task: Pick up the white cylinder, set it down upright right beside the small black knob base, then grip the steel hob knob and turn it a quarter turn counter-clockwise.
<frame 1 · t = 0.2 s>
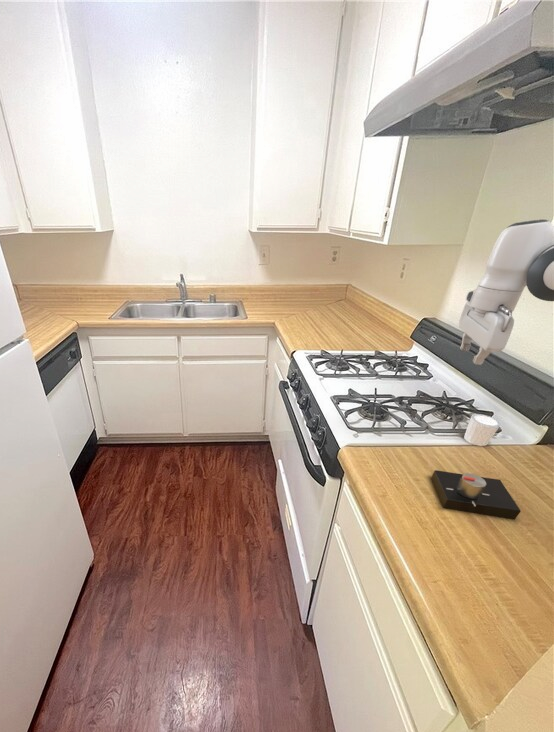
hand: (470, 356, 89), 23 cm above the countertop, tool pointing down, fingers open, 8 cm apart
hob knob: (471, 485, 74), point 5 cm above the countertop, hinge at 0.0°
black knob base: (469, 499, 78), on the countertop
white cylinder: (474, 441, 97), on the countertop
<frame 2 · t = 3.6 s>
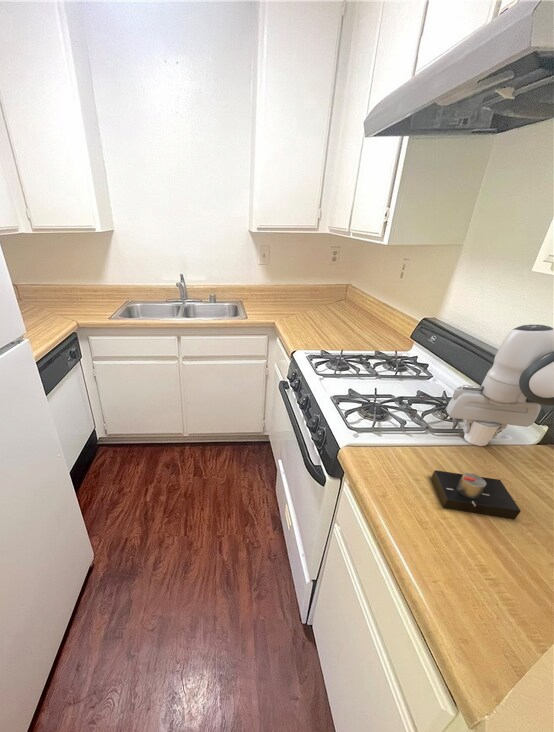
hand: (478, 433, 96), 3 cm above the countertop, tool pointing down, fingers closed on white cylinder, 5 cm apart
white cylinder: (474, 441, 97), on the countertop, touching gripper
everything else where it was.
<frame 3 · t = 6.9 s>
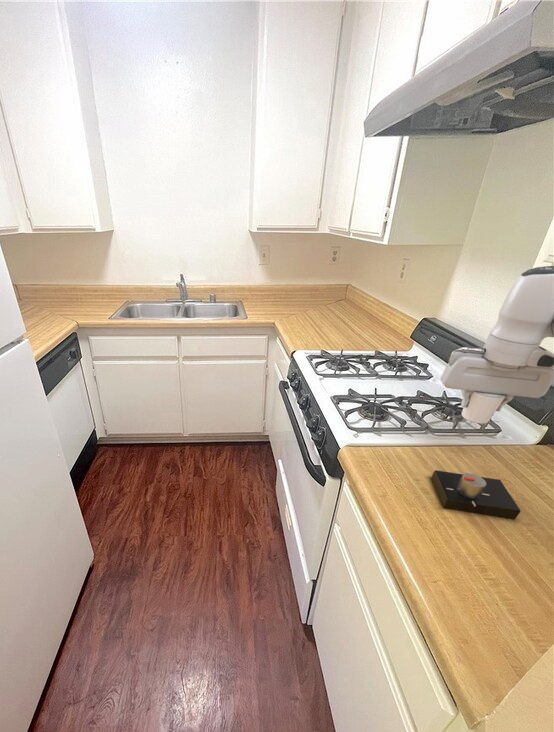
hand: (479, 408, 80), 16 cm above the countertop, tool pointing down, fingers closed on white cylinder, 5 cm apart
white cylinder: (474, 418, 82), point 13 cm above the countertop, touching gripper
everything else where it was.
when the fingers open (2 cm above the countertop, at t = 10.2 s): white cylinder stays where it is, on the countertop.
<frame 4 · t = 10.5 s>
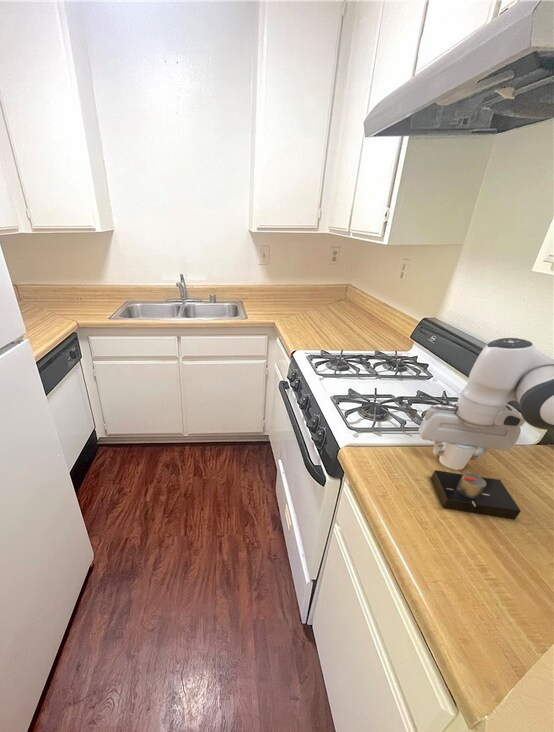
hand: (454, 456, 87), 2 cm above the countertop, tool pointing down, fingers open, 7 cm apart
white cylinder: (450, 464, 88), on the countertop
everything else where it was.
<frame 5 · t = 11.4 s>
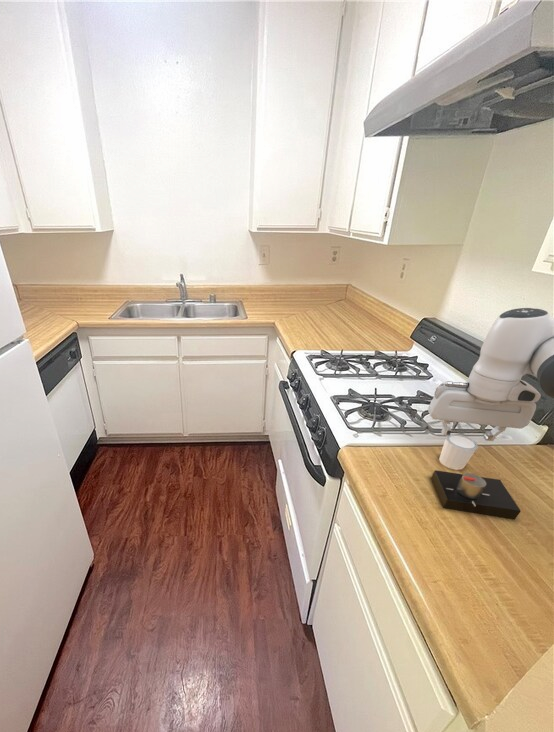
hand: (466, 437, 84), 8 cm above the countertop, tool pointing down, fingers open, 8 cm apart
nothing on the countertop moved.
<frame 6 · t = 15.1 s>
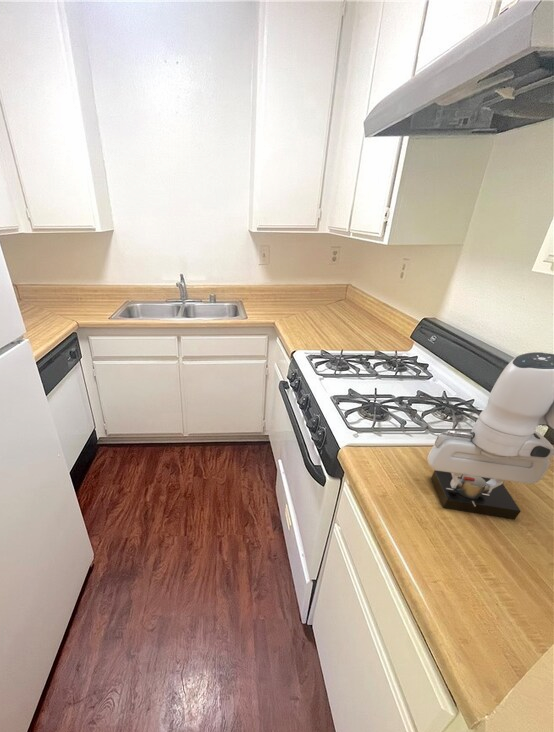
hand: (469, 489, 74), 4 cm above the countertop, tool pointing down, fingers closed on hob knob, 4 cm apart
hob knob: (471, 485, 74), point 5 cm above the countertop, hinge at 0.0°, touching gripper
everything else where it was.
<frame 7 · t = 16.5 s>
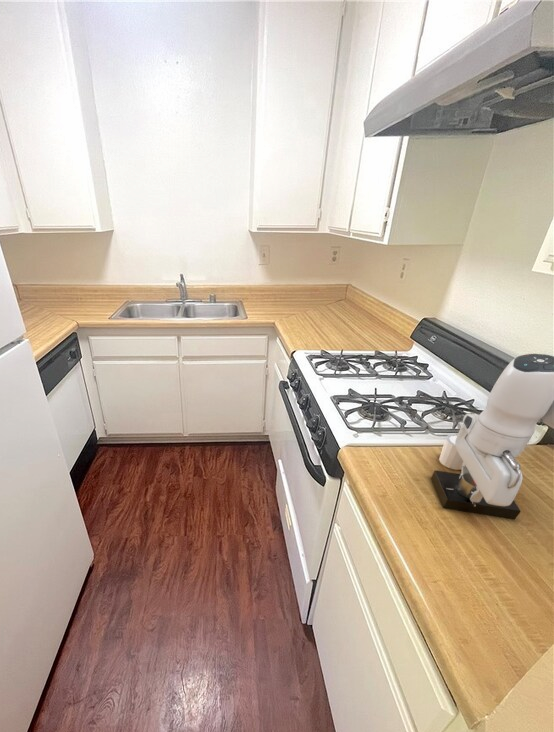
hand: (468, 490, 75), 4 cm above the countertop, tool pointing down, fingers closed on hob knob, 4 cm apart
hob knob: (471, 485, 74), point 5 cm above the countertop, hinge at 86.0°, touching gripper
everything else where it was.
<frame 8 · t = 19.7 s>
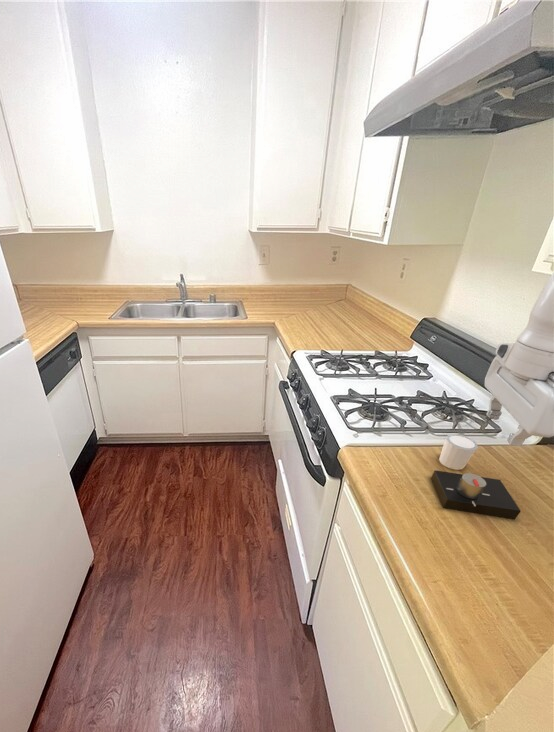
hand: (501, 430, 66), 19 cm above the countertop, tool pointing down, fingers open, 8 cm apart
hob knob: (471, 485, 74), point 5 cm above the countertop, hinge at 86.1°
everything else where it was.
at the end: white cylinder 13.0 cm from the black knob base (horizontally); white cylinder tilted 0°; hob knob at +86° (first picture: +0°) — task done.
